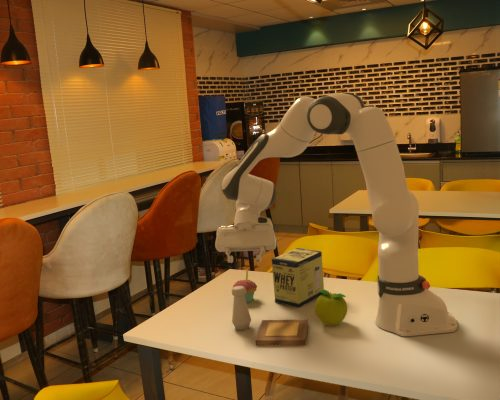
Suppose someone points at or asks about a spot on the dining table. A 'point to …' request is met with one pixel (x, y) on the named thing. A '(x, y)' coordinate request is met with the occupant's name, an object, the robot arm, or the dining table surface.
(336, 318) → the fruit
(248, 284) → the cupcake
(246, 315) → the salt shaker
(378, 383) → the dining table surface
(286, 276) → the protein box
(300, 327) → the base board
